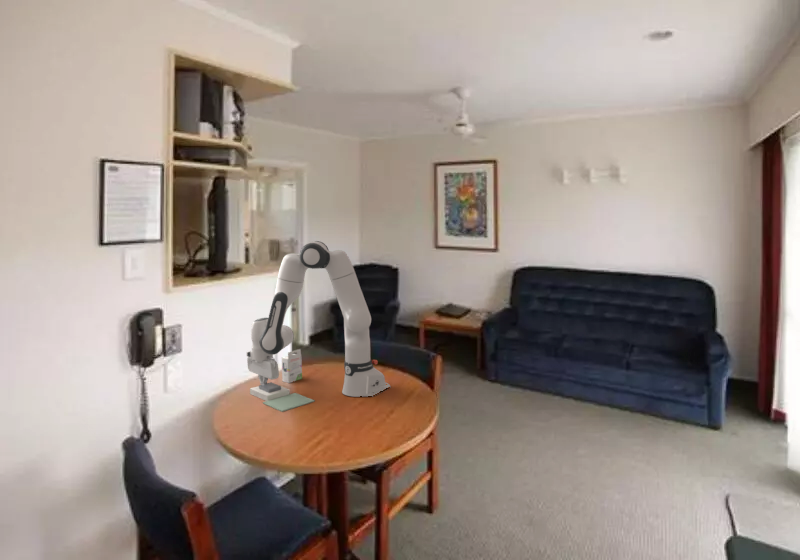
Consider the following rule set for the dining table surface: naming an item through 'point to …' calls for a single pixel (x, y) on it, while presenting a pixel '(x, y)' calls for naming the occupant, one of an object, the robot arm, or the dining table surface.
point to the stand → (269, 396)
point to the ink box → (292, 367)
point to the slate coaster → (270, 387)
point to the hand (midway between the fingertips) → (263, 384)
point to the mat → (288, 402)
